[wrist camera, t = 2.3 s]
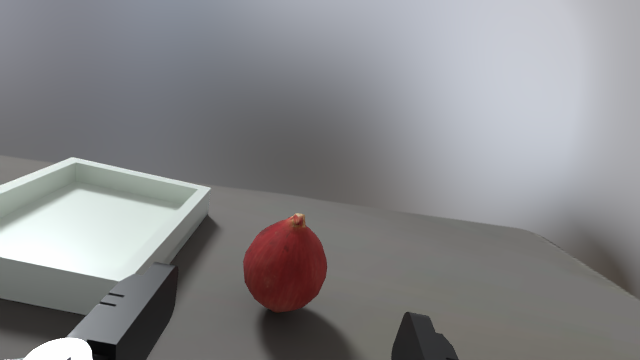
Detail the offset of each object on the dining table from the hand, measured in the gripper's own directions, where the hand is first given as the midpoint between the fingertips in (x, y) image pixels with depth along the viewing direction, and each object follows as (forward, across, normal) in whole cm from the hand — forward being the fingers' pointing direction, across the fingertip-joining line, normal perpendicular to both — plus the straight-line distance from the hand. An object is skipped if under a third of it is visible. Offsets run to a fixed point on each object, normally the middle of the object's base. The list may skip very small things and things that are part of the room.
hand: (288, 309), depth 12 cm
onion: (+12, 0, +10) cm, 15 cm away
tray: (+15, +16, +9) cm, 24 cm away
